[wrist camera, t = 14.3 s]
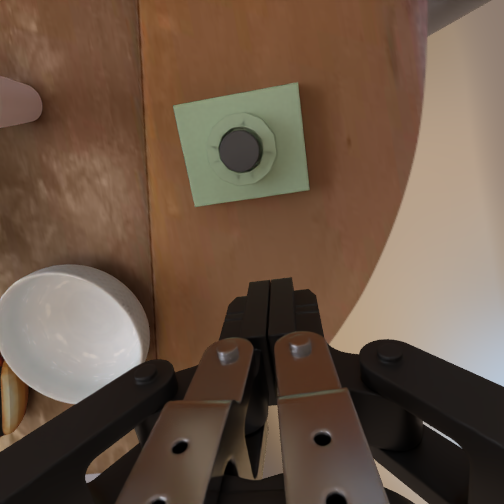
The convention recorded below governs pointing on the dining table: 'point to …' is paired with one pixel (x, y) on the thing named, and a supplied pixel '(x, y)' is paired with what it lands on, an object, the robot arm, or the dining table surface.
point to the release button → (239, 150)
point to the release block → (262, 127)
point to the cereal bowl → (71, 330)
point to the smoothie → (18, 103)
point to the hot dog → (11, 399)
